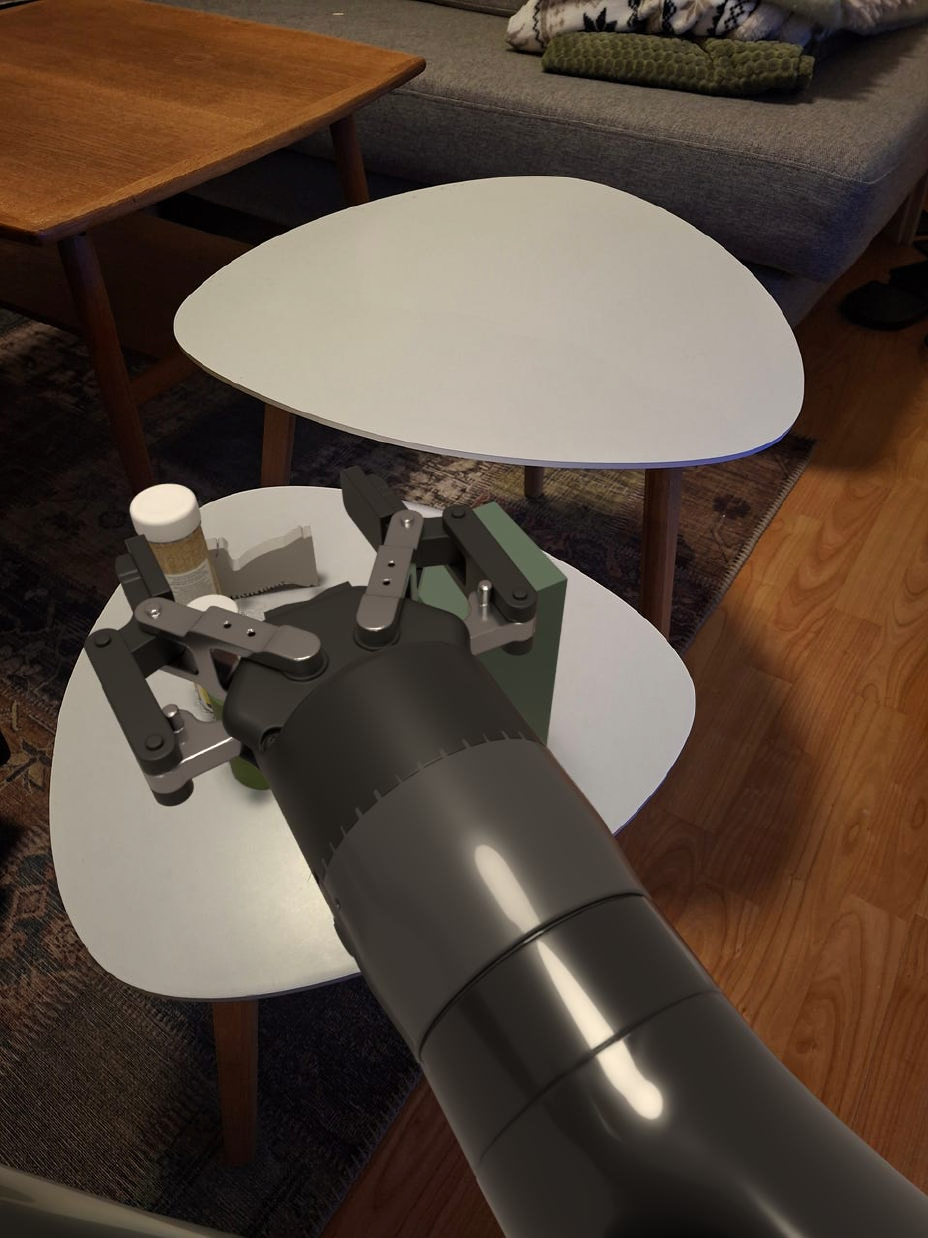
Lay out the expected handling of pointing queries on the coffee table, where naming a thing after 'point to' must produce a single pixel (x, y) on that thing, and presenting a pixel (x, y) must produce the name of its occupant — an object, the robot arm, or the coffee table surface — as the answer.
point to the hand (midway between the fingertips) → (248, 518)
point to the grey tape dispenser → (265, 564)
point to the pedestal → (536, 670)
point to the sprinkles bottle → (176, 539)
